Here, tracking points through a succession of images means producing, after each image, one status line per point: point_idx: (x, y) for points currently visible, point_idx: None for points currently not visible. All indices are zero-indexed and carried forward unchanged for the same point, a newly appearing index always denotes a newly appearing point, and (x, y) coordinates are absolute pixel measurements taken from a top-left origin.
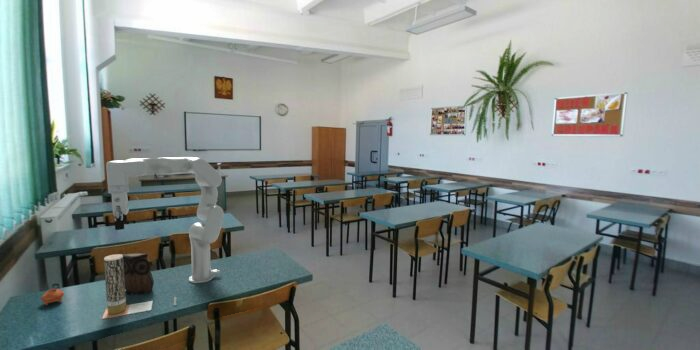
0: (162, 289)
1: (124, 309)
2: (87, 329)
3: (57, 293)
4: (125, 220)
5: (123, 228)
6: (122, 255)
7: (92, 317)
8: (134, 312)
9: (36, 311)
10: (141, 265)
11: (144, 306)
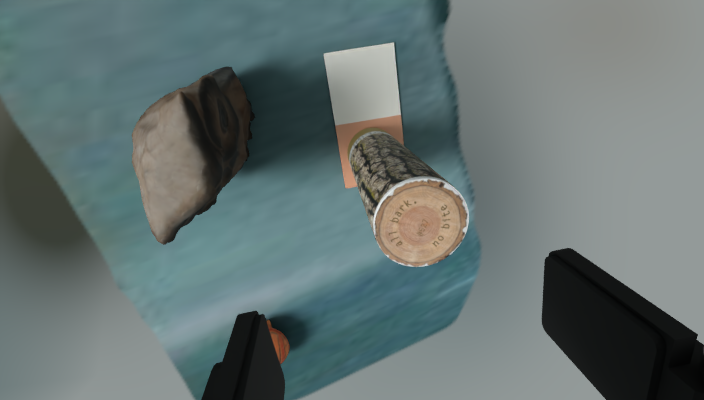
0: (220, 38)
1: (381, 129)
2: None
3: None
4: (258, 357)
5: (570, 255)
6: (411, 183)
7: None
8: (397, 94)
9: (311, 345)
10: (221, 119)
11: (362, 72)
